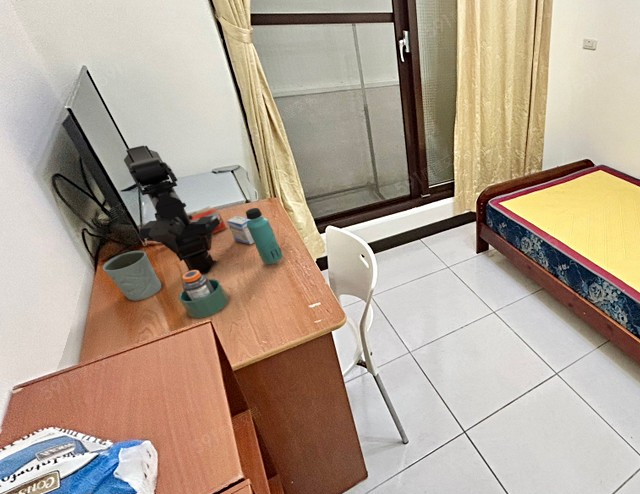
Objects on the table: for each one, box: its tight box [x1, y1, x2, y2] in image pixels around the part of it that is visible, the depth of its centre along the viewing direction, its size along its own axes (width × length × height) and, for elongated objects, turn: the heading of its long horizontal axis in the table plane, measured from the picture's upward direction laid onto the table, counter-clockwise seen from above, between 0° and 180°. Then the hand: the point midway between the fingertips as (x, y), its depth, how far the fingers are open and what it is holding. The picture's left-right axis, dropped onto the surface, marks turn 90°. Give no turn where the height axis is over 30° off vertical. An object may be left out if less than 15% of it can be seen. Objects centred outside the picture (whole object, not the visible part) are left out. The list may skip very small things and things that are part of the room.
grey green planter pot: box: [102, 250, 162, 302], centre depth 121 cm, size 10×10×12 cm
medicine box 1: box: [187, 205, 227, 235], centre depth 150 cm, size 15×8×8 cm, turn 142°
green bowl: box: [178, 278, 229, 319], centre depth 115 cm, size 10×10×6 cm
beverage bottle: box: [245, 207, 283, 265], centre depth 129 cm, size 6×7×20 cm
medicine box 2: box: [226, 215, 255, 245], centre depth 145 cm, size 8×4×9 cm, turn 68°
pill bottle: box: [181, 270, 214, 301], centre depth 114 cm, size 6×6×11 cm
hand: (193, 251), depth 118 cm, fingers open, 9 cm apart
